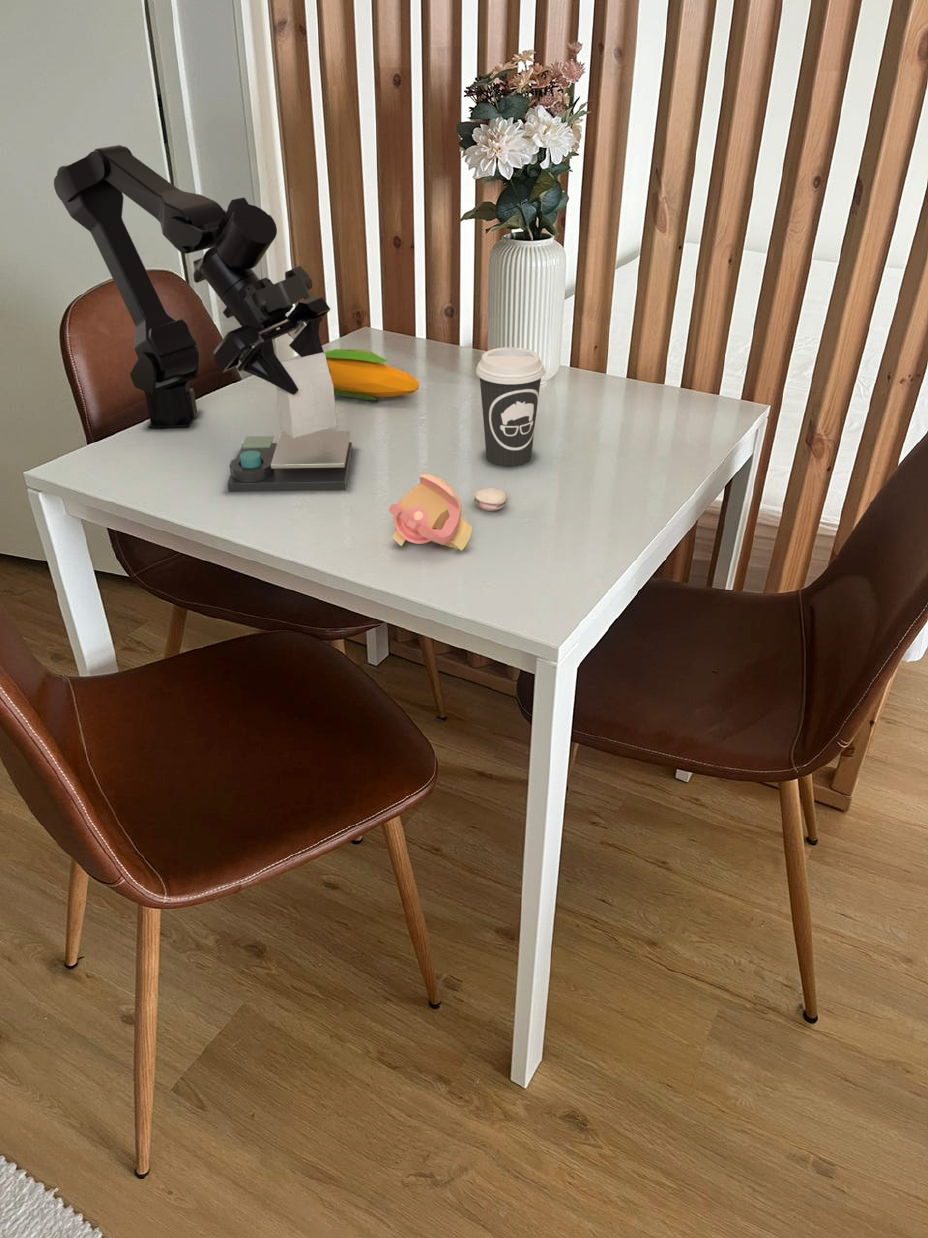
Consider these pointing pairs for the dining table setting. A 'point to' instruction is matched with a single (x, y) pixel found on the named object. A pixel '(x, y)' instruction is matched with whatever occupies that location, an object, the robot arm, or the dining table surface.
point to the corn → (367, 376)
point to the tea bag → (307, 397)
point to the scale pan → (312, 450)
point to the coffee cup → (509, 403)
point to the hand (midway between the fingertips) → (312, 384)
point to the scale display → (258, 442)
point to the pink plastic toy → (430, 515)
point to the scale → (285, 475)
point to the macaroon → (490, 498)
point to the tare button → (250, 459)
